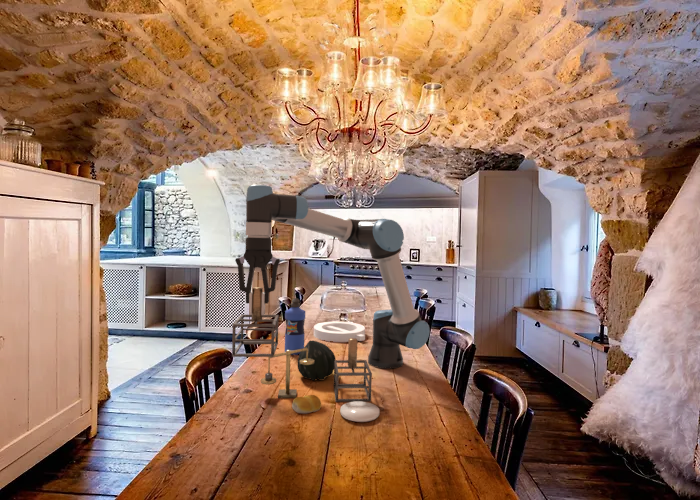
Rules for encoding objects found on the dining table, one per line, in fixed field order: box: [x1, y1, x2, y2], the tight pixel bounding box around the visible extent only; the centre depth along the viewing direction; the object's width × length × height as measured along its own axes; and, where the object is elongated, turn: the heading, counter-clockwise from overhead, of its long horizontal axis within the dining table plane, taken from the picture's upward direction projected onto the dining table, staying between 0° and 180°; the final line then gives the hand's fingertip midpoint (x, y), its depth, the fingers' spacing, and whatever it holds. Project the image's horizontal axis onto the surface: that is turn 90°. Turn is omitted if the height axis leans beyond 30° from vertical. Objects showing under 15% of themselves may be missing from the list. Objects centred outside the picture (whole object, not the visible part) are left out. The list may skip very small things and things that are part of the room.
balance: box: [260, 348, 314, 399], centre depth 132 cm, size 18×5×16 cm, turn 95°
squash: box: [297, 340, 336, 381], centre depth 150 cm, size 14×15×15 cm
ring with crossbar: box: [313, 321, 366, 343], centre depth 214 cm, size 28×28×5 cm
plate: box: [339, 401, 380, 423], centre depth 119 cm, size 12×12×2 cm
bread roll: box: [291, 394, 322, 415], centre depth 123 cm, size 8×9×4 cm
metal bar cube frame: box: [333, 338, 373, 403], centre depth 135 cm, size 12×14×19 cm
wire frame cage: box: [231, 286, 280, 358], centre depth 118 cm, size 12×14×19 cm
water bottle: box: [284, 297, 306, 356], centre depth 180 cm, size 9×9×25 cm
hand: (257, 313), depth 118 cm, fingers closed on wire frame cage, 3 cm apart
